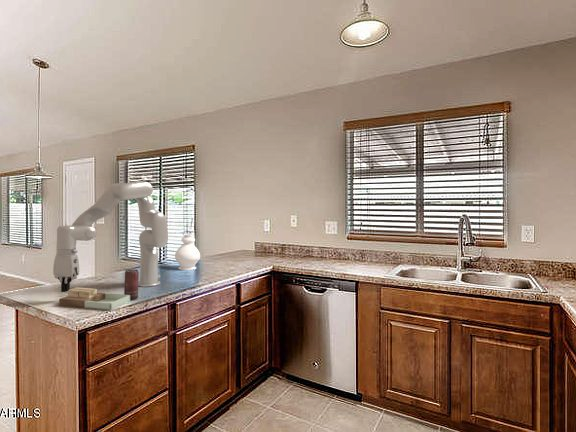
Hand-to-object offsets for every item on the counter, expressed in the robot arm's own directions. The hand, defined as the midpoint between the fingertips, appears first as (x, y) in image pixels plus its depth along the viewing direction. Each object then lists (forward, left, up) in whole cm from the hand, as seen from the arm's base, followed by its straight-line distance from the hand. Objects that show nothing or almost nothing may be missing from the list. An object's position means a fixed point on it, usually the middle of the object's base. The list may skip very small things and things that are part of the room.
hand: (65, 291), depth 156 cm
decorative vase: (-92, +18, -5) cm, 94 cm away
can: (-11, +26, -5) cm, 29 cm away
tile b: (0, +12, -2) cm, 12 cm away
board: (0, +9, -4) cm, 10 cm away
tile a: (0, +6, -2) cm, 6 cm away
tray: (0, +22, -4) cm, 22 cm away
